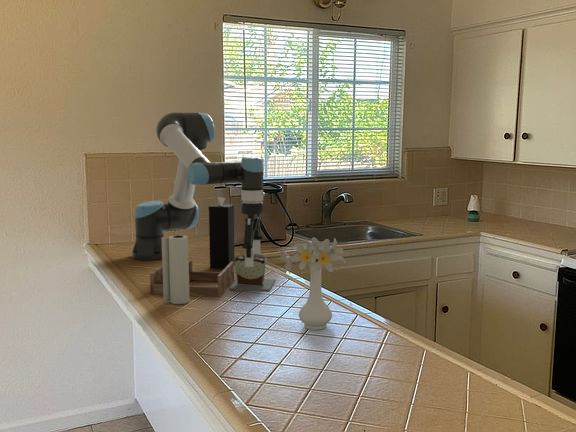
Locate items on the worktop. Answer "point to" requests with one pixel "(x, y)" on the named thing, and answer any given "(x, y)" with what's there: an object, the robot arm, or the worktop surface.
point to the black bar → (221, 234)
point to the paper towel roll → (175, 269)
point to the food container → (250, 270)
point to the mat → (266, 286)
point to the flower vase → (315, 279)
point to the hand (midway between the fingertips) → (252, 262)
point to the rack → (222, 277)
